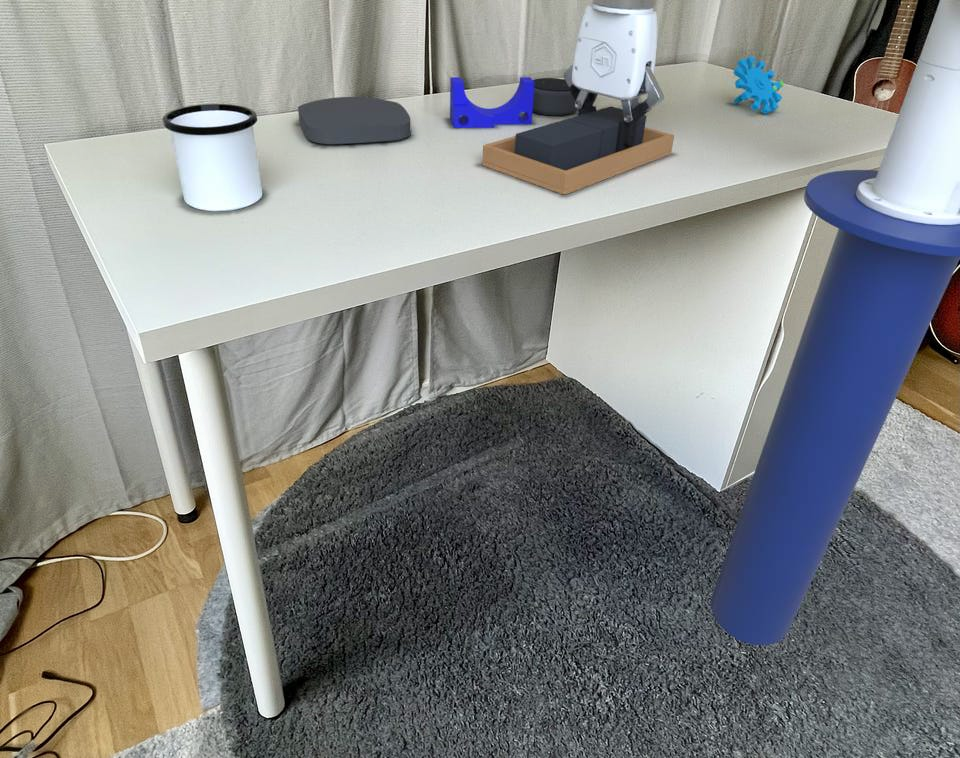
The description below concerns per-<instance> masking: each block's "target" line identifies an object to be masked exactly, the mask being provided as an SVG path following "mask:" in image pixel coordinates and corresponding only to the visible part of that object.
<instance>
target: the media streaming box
mask: <svg viewBox="0 0 960 758" xmlns="http://www.w3.org/2000/svg"><path fill="white" fill-rule="evenodd" d="M297 110H298V112H297V113H298V122H299V125H300V127H301V130H302V132H303V134H304V136H305V137H306V139H307V140H308V141H310V142H313V143H318V144H323V145H346V144H363V143H364V144H365V143H377V142H379V143H380V142H391V141H398V140H403V139H406V138H408V137H409V136H410V135H411V134H412V133H411V132H412V131H411V128H412V127H411V116H410V115H409V112H408V111H407V110H406V108H405V107H404V106H403V105H402V104H400V102H397V101H392V100H386V99H381V98H375V97H364V96H341V97H329V98H323V99H318V100H313V101H309V102H306V103H304V104H300V105H299V106H297Z"/></svg>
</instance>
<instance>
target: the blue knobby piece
mask: <svg viewBox="0 0 960 758" xmlns="http://www.w3.org/2000/svg"><path fill="white" fill-rule="evenodd" d="M736 64H737V67H736V68H735V69H734V70H733V75H734V76H735V77H737V79H736V80H735V81H734V86H735V87H734V88H736V89H742V90H743V92H742V93H740V94H739V95H737V96H736V97H735V98H734V99H733V104H734V105H736V106H738V105H739V104H740V103H741V102H747V101H748V100H750V99H753V100H754V101H753V102H752V103H750V104H749V106H750V108H751V109H752V110H753V111H754V112H756V111H757V110H759V109H760V113H762V114H763V115H767V114H770V112H774V111H776V110H778V109H780V107H779V104H778V103H779V102H781V101H782V99H783V96H782V95H781V94H780V93H779V92H778V91H779V90H781V88H783V87H784V86H785V83H784V81H783V80H782V79H781V80H779V81H773V80H772V79H774V77H775V76H776V75H775V72H774V70H773V69H768V71H767V72H764V71H763V69H764V68H765V67H767V66H766V63H765V62H764V61H763V60H762V59H760V60H759V61H757V62H756V58H755V57H753V56H751V55H749V56H747V58H741V59H739V61H737V62H736ZM754 64H755V66H754ZM761 104H762V107H761Z"/></svg>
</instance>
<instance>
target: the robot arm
mask: <svg viewBox="0 0 960 758" xmlns="http://www.w3.org/2000/svg"><path fill="white" fill-rule="evenodd" d="M655 2H656V0H592V3H591V4H587V5H586V7H585V10H584V13H583V16H582V19H581V23H580V26H579V30H578V34H577V39H576V44H575V49H574V54H573V59H572V64H571V65H570V66H569V67H568V68H567V69H566V70H565V71H564V72H563V75H562V77H563V79H564V80H565V81H566V83H567V85H568V87H570V92H571V94H572V96H573V98H574V100H575V101H576V102H575V106H576V108H577V109H578V110H577V116H579V115H582V114H586V113H589V112H593V111H596V110H597V106H594V105H595V102H596V99H597V97H598V95H600V96H604V97H607V98H612V99H616V100H620V102H621V103H620V104H621V109H622V110H623V117H624V120H623V121H620V122H619V131H618V138H617V145H616V151H617V152H620V151H623V150H625V149H628V148H631V147H632V146H633V144H634V142H635V136H636V130H637V124H638V120H639V119H641V118H642V117H643V116H644V115H647V113H649V112H650V111H652V109H654V108H655V107H656V106H658V105H659V104H660V103H662V102H663V101H664V99H665V94H664V91H663V90H662V88H661V86H660V84H659V83H658V80H657V79H656V77H655V69H656V59H657V48H658V13H657V11H654V8H655ZM924 41H925V42H924V44H923V47H922V49H921V53H920V55H919V57H918V60H917V63H916V66H915V68H914V71H913V74H912V76H911V79H910V82H909V84H908V88H907V91H906V93H905V96H904V99H903V102H902V104H901V106H900V109H899V112H898V115H897V118H896V121H895V124H894V127H893V129H892V132H891V135H890V137H889V141H888V143H887V145H886V149H885V152H884V154H883V157H882V160H881V162H880V164H879V165H880V166H879V168H878V170H877V171H878V173H877V176H876V178H873V179H868V180H865V181H863V182H861V183H860V184H859V186H858V188H857V191H856V196H857V198H858V200H859V201H860V202H861V203H862V204H864V205H865V206H867V207H869V208H871V209H873V210H875V211H877V212H879V213H882V214H884V215H887V216H891V217H894V218H897V219H901V220H905V221H910V222H915V223H921V224H929V225H958V224H960V0H939V2H938V5H937V8H936V10H935V13H934V16H933V20H932V22H931V25H930V28H929V30H928V33H927V36H926V39H925V40H924ZM645 95H646V96H647V97H646V98H645V99H644V100H643V101H642V96H645Z"/></svg>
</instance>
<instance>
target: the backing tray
mask: <svg viewBox="0 0 960 758" xmlns="http://www.w3.org/2000/svg"><path fill="white" fill-rule="evenodd" d="M515 138H516V135H514V136H510V137H507V138H503V139H500V140H497V141H494V142H489V143H486V144H483V145H482V157H481V159H482V161H481V165H482V166H483V167H486V168H488V169H492V170H494V171H497V172H500V173H502V174H505V175H508V176H511V177H513V178H517V179H518V180H522V181H524V182H527V183H530V184H533V185H536V186H539V187H541V188H544V189H546V190H550V191H553V192H554V193H558V194H561V195H563V196H565V195H569V194H570V193H573V192H576V191H578V190H582V189H583V188H587V187H589V186H592V185H594V184H596V183H599V182H601V181H604V180H608V179H610V178H612V177H614V176H617V175H620V174H622V173H625V172H629V171H630V170H633V169H635V168H639V167H640V166H643V165H646V164H649V163H651V162H654V161H656V160H659V159H662V158H664V157H666V156H669V155H671V154H672V151H673V146H674V140H675V134H671V133H668V132H664V131H661V130H657V129H653V128H649V127H646V126H645V129H644V135H643V141H642V144H640V145H637V146H634V147H631V148H628V149H625V150H623V151H620V152H617V153H614V154H611V155H609V156H606V157H603V158H600V159H597V160H594V161H592V162H589V163H586V164H583V165H580V166H577V167H575V168H572V169H569V170H566V171H565V170H562V169H559V168H556V167H553V166H550V165H547V164H544V163H541V162H538V161H535V160H532V159H529V158H526V157H523V156H521V155H518V154H515Z"/></svg>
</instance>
